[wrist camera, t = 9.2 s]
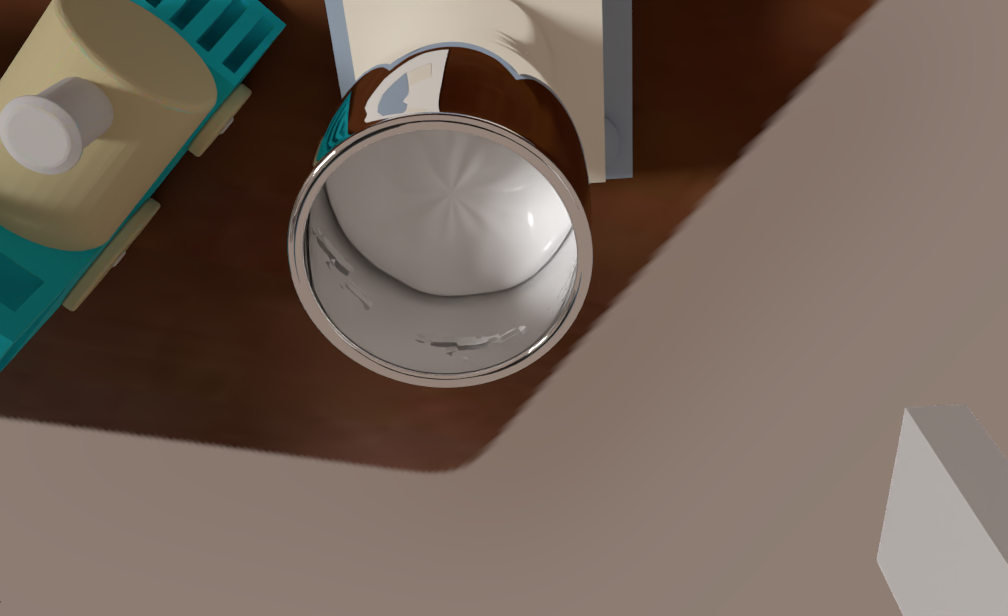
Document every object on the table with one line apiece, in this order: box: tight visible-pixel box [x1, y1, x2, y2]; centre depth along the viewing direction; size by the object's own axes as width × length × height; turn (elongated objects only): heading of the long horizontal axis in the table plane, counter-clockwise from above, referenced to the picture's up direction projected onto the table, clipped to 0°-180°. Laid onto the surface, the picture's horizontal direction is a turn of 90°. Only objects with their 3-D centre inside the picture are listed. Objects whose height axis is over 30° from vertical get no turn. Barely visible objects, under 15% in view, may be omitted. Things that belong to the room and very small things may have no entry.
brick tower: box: [325, 0, 633, 183], centre depth 35 cm, size 12×12×8 cm
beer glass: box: [287, 0, 593, 388], centre depth 25 cm, size 7×7×15 cm
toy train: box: [0, 0, 286, 372], centre depth 34 cm, size 8×17×15 cm, turn 137°
